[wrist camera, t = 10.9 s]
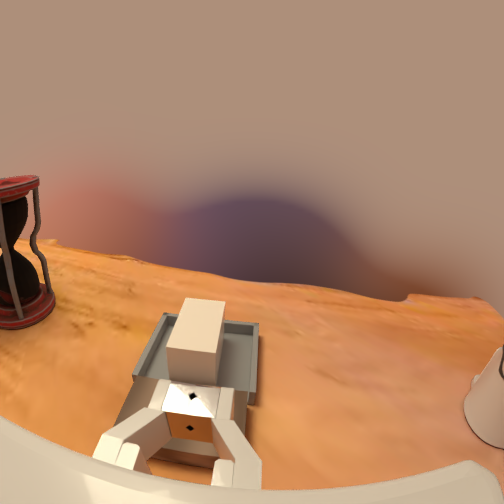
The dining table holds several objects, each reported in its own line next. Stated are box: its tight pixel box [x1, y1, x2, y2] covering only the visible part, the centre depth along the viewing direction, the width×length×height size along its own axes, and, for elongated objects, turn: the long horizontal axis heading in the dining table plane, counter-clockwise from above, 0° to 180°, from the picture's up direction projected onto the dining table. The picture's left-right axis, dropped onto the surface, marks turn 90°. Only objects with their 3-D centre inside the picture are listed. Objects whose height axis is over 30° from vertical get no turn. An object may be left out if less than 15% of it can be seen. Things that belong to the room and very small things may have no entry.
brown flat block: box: [113, 375, 248, 469], centre depth 30 cm, size 14×10×3 cm
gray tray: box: [132, 313, 259, 405], centre depth 42 cm, size 16×16×2 cm
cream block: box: [166, 298, 225, 386], centre depth 41 cm, size 6×7×12 cm
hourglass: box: [0, 175, 55, 329], centre depth 42 cm, size 16×16×25 cm
